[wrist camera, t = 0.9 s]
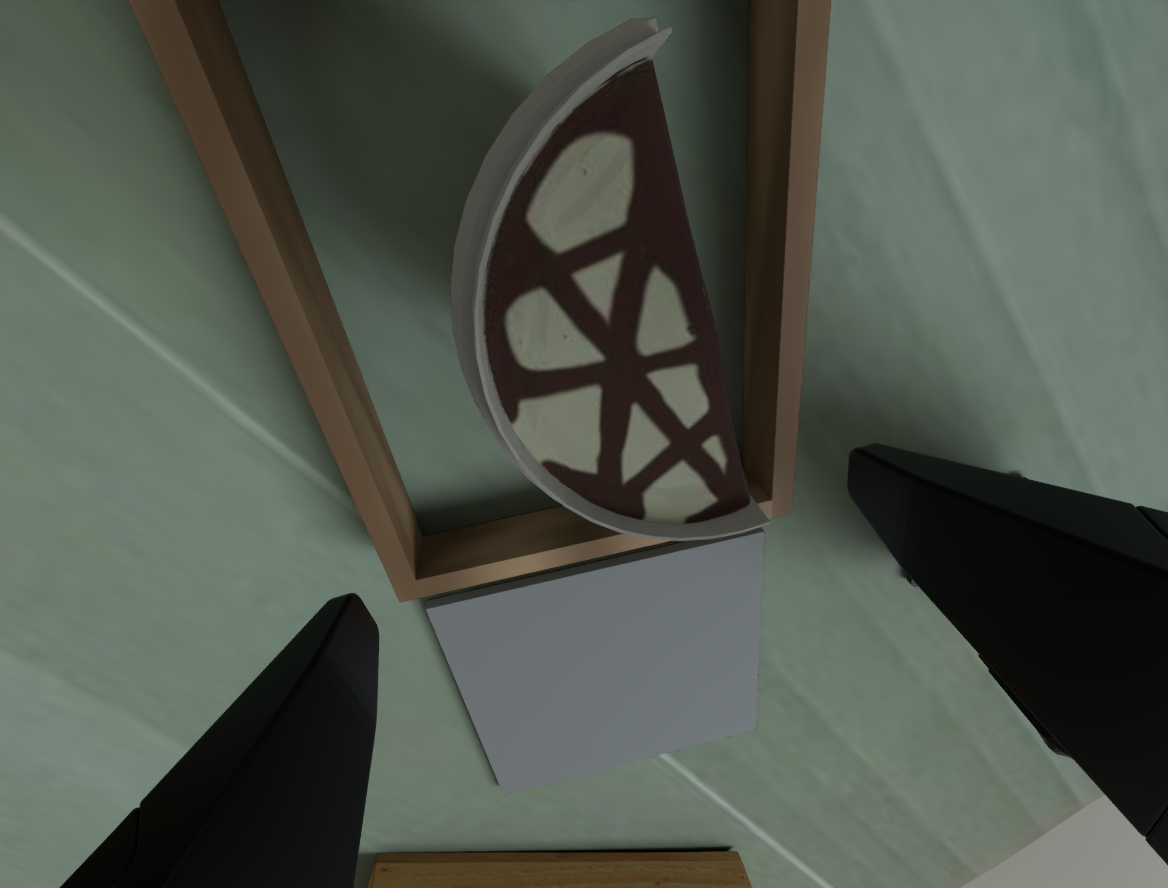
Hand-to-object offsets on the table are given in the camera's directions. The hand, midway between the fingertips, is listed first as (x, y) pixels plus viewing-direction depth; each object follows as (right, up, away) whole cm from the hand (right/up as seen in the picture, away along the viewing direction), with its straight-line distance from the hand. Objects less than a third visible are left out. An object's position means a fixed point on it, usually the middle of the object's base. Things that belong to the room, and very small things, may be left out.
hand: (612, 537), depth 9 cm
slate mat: (+1, -12, +22) cm, 25 cm away
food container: (-2, +8, +11) cm, 14 cm away
